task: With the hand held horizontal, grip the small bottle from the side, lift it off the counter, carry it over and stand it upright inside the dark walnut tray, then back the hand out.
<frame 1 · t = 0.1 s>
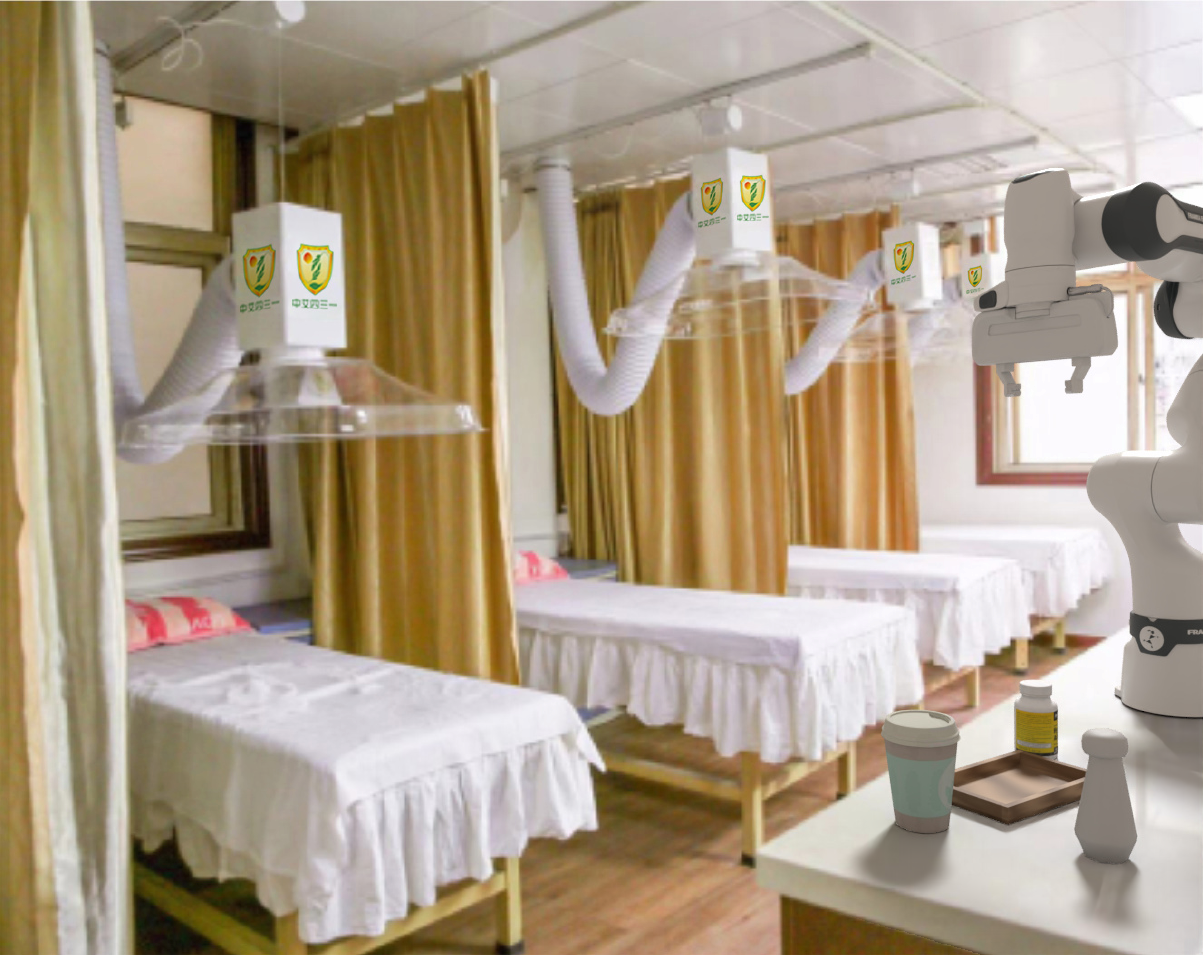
hand: (1042, 395, 142), 48 cm above the counter, tool pointing down, fingers open, 8 cm apart
supplement bottle: (1036, 757, 140), on the counter
tray: (1013, 792, 127), on the counter
salt shaker: (1105, 857, 108), on the counter
coffee cup: (922, 825, 118), on the counter
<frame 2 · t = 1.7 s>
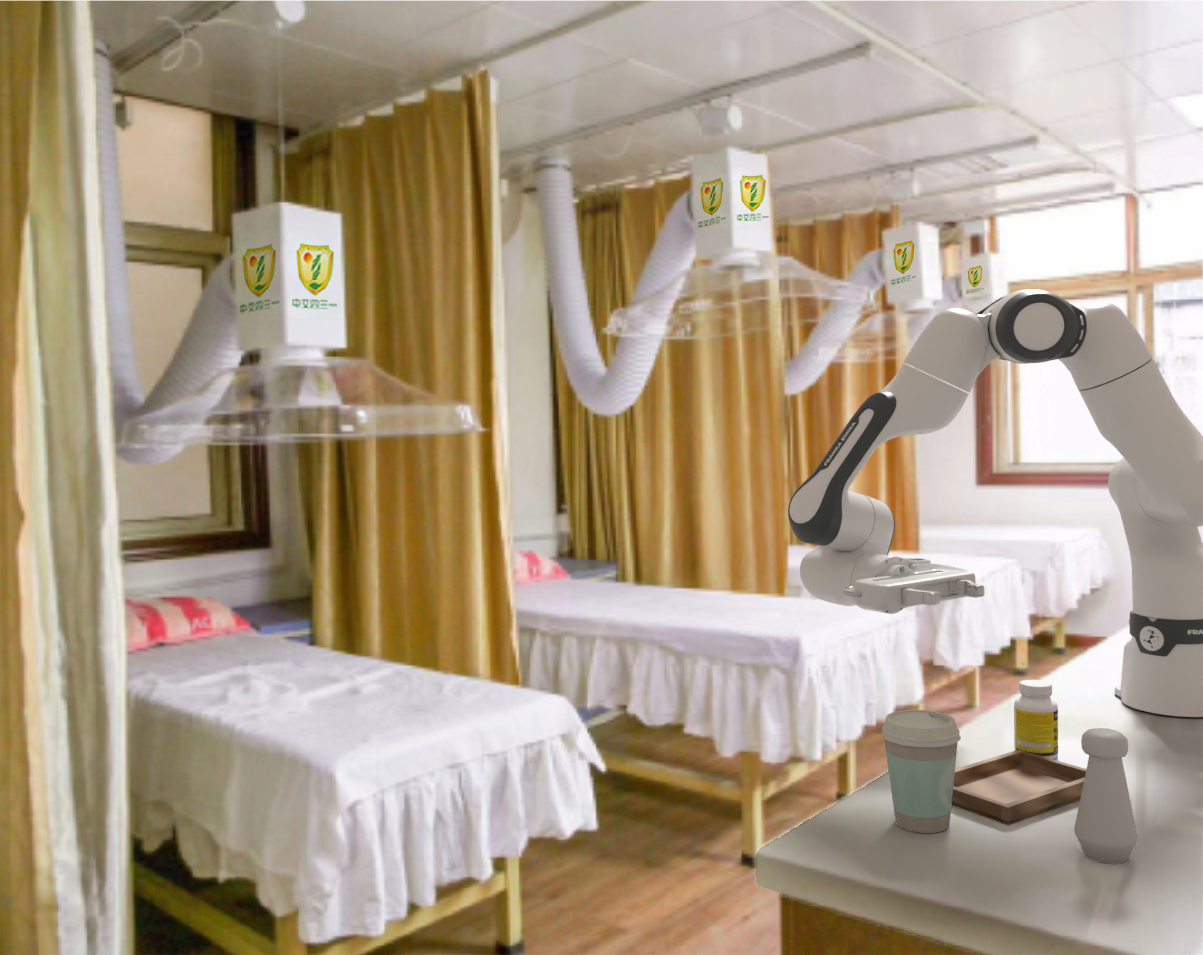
hand: (959, 595, 149), 20 cm above the counter, tool horizontal, fingers open, 8 cm apart
nothing on the counter moved.
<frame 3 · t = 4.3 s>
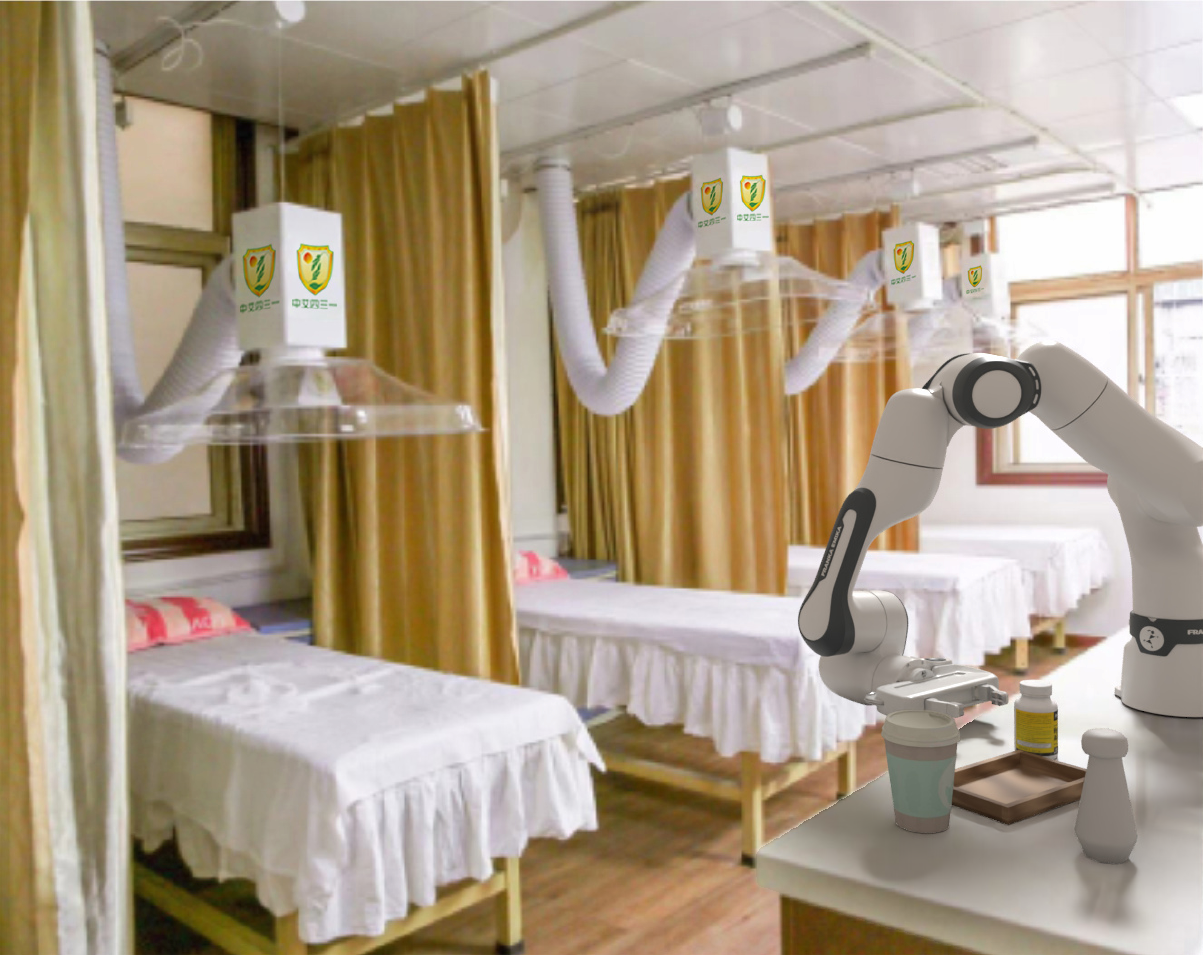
hand: (983, 705, 147), 5 cm above the counter, tool horizontal, fingers open, 8 cm apart
nothing on the counter moved.
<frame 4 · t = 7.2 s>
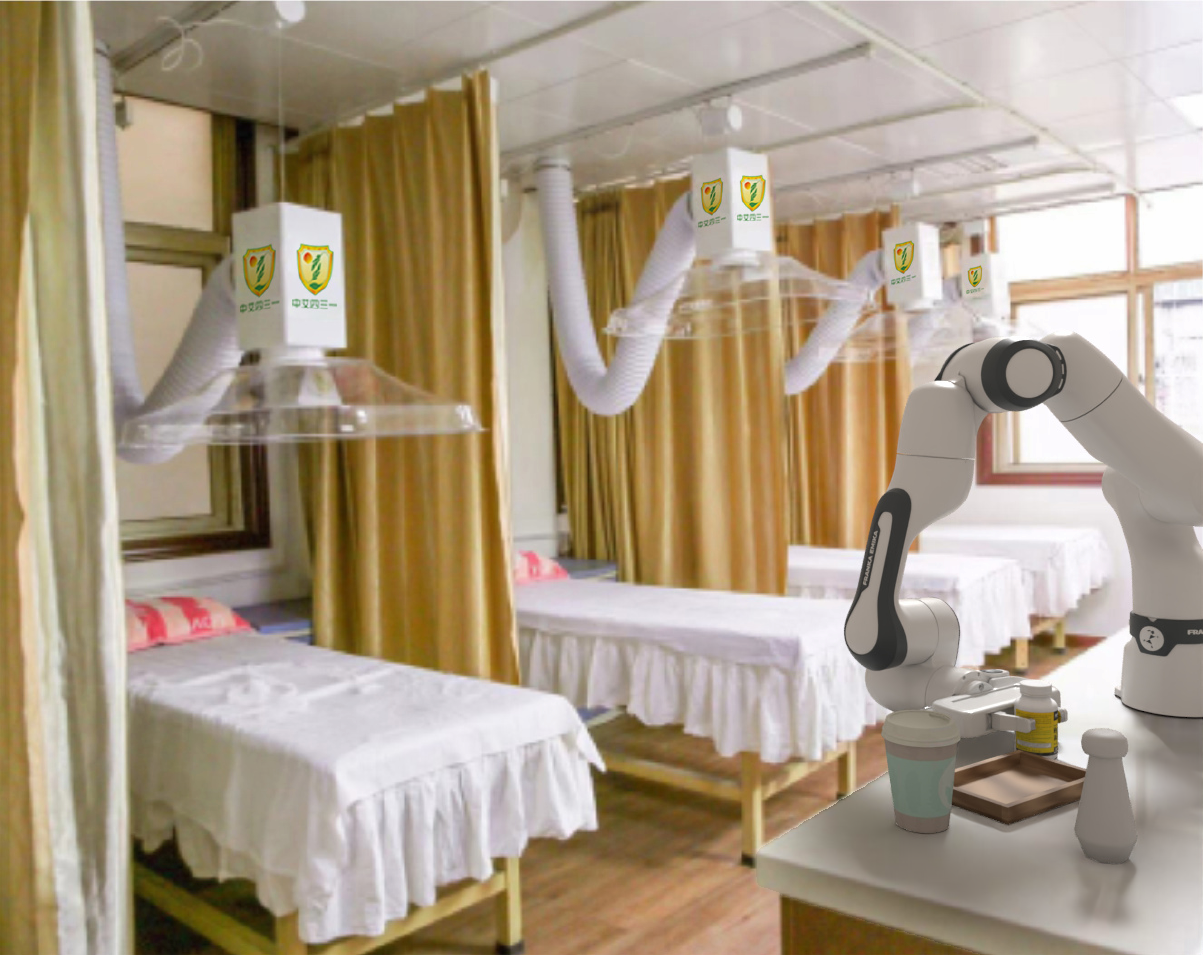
hand: (1048, 721, 138), 5 cm above the counter, tool horizontal, fingers closed on supplement bottle, 5 cm apart
supplement bottle: (1036, 756, 140), on the counter, touching gripper
everything else where it was.
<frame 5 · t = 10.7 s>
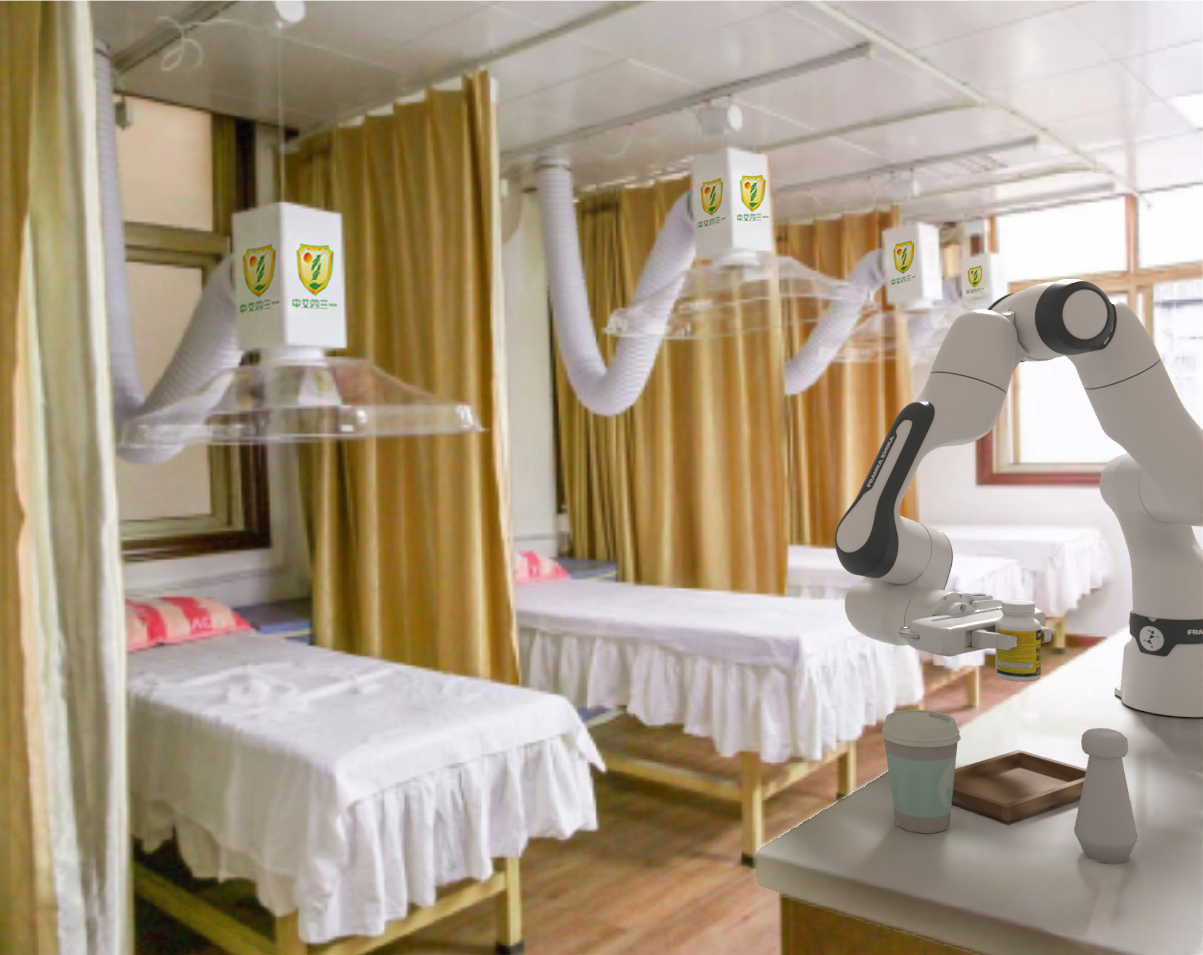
hand: (1030, 639, 132), 17 cm above the counter, tool horizontal, fingers closed on supplement bottle, 5 cm apart
supplement bottle: (1018, 679, 134), point 12 cm above the counter, touching gripper
everything else where it was.
when the fingers open (6 cm above the counter, at t = 14.3 s): supplement bottle stays where it is, resting on tray.
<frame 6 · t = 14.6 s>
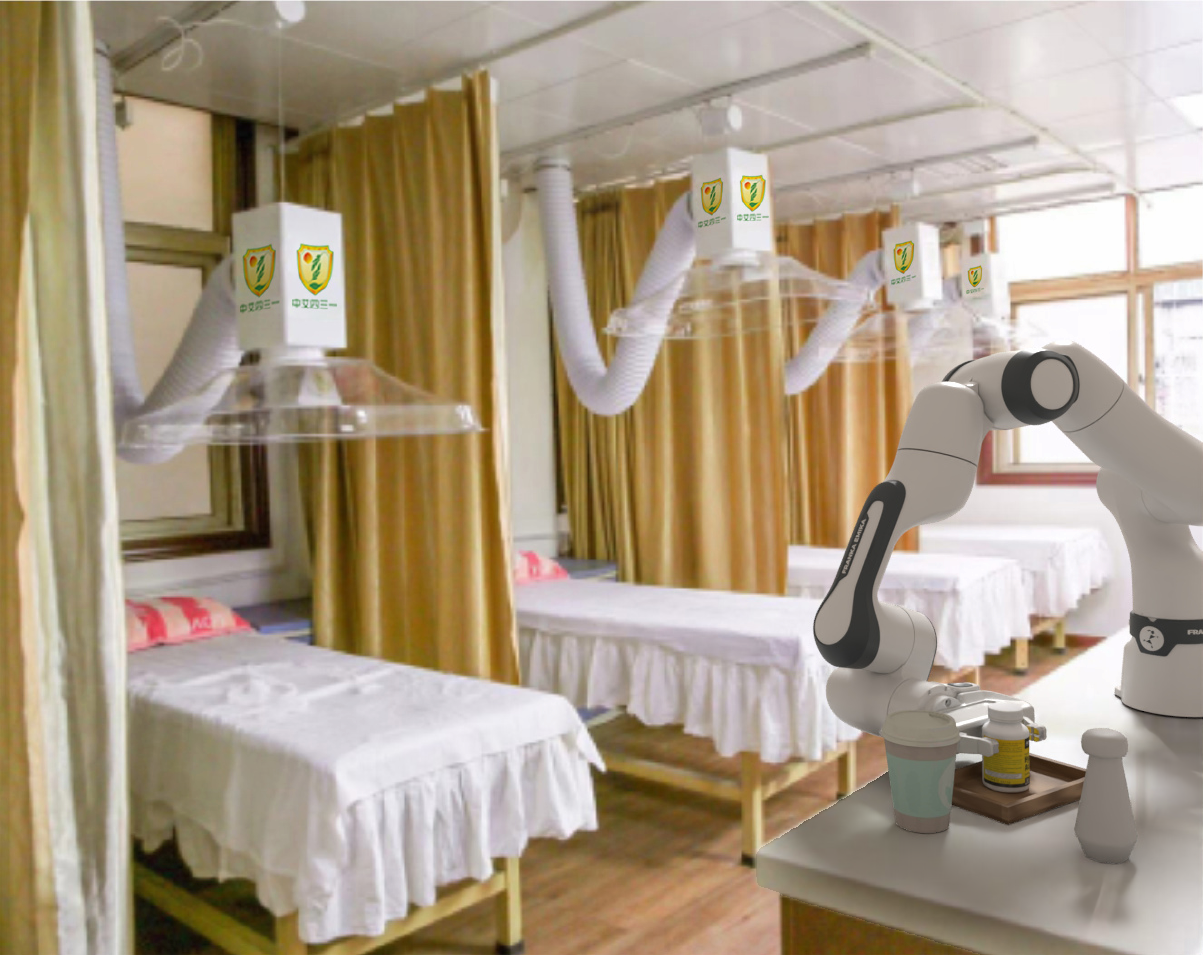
hand: (1019, 741, 126), 6 cm above the counter, tool horizontal, fingers open, 8 cm apart
supplement bottle: (1006, 788, 128), resting on tray
everything else where it was.
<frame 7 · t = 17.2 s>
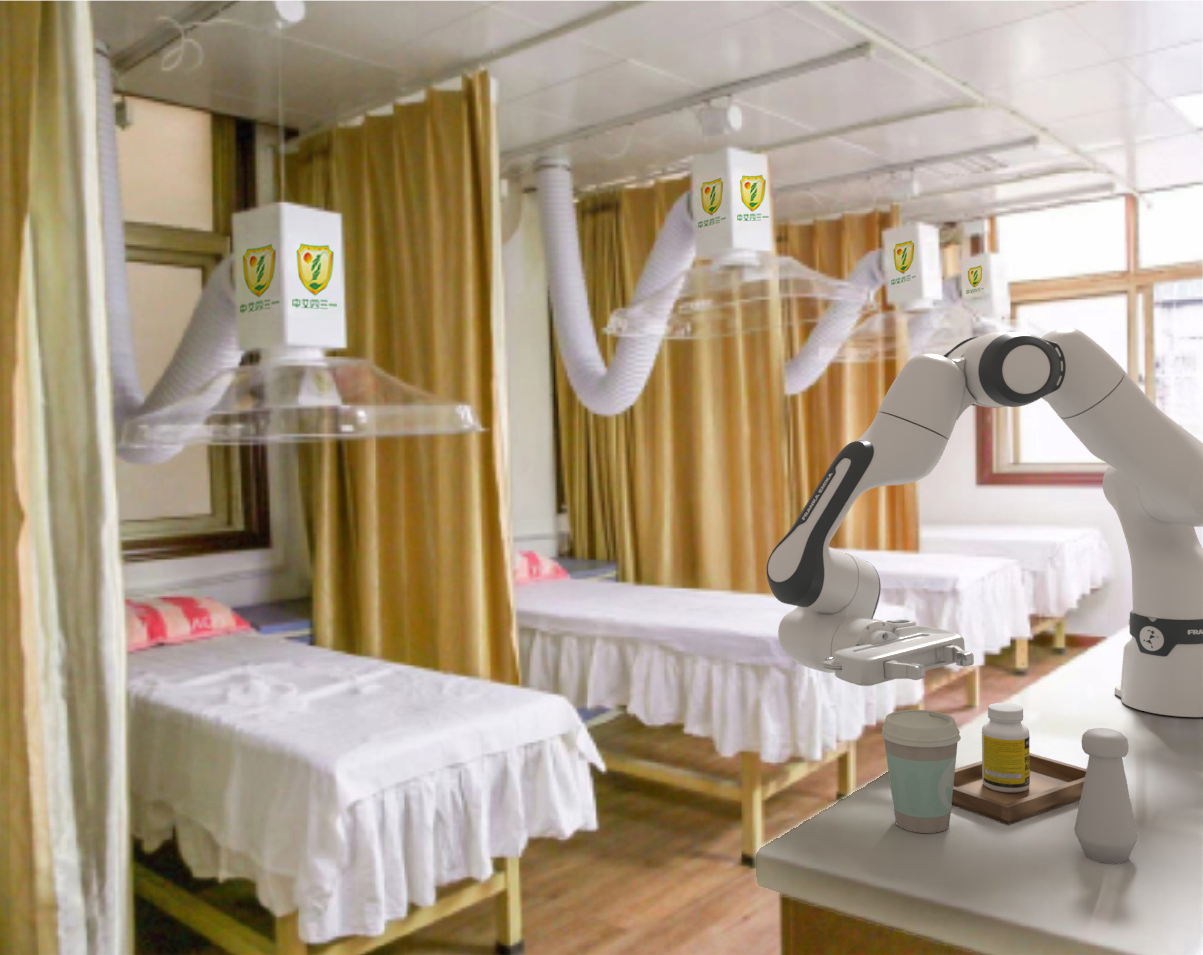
hand: (946, 666, 138), 13 cm above the counter, tool horizontal, fingers open, 8 cm apart
nothing on the counter moved.
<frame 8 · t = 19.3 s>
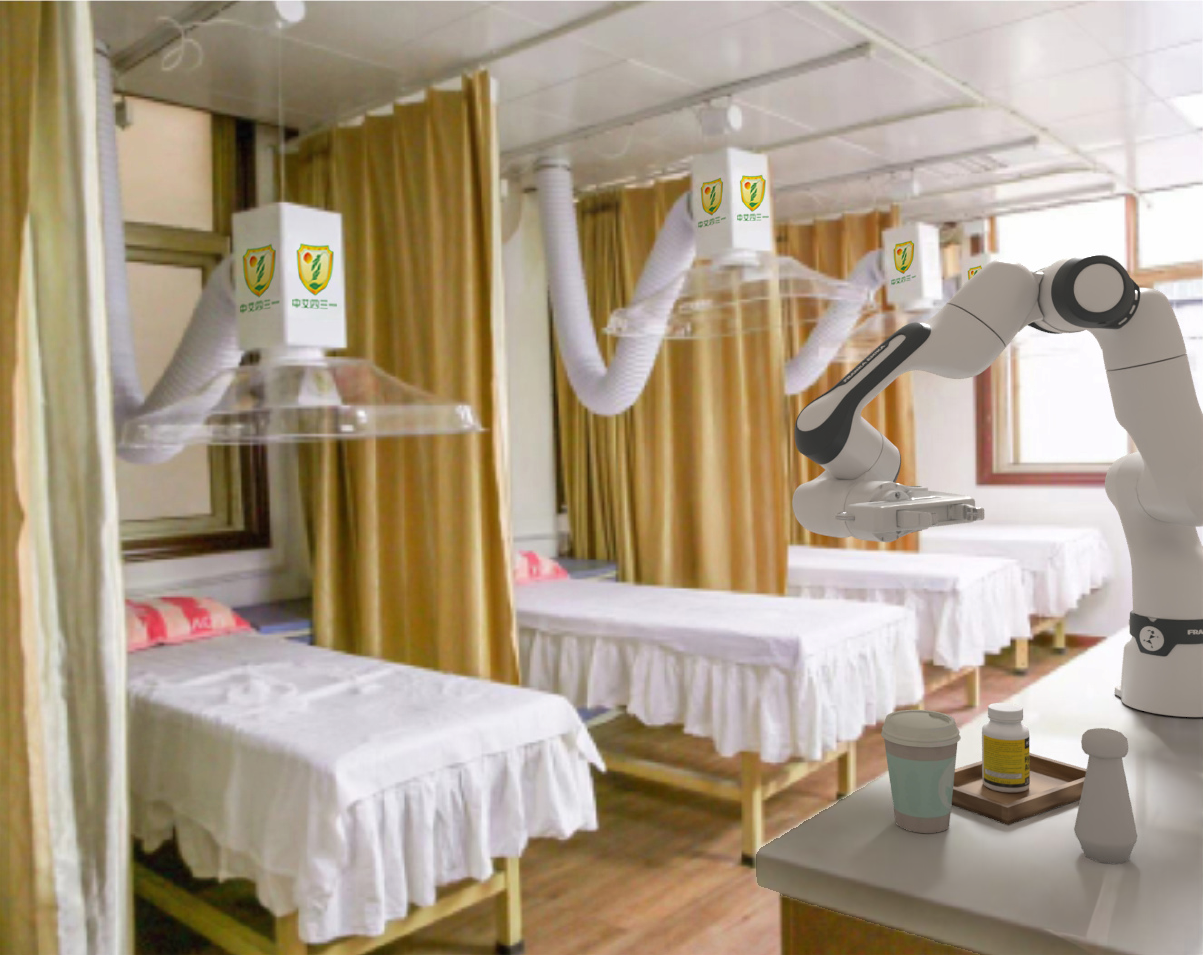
hand: (957, 516, 141), 32 cm above the counter, tool horizontal, fingers open, 8 cm apart
nothing on the counter moved.
at the end: supplement bottle inside the target area on the tray (1.0 cm from its centre), point 0.3 cm above the tray's base; supplement bottle tilted 0°; the gripper is holding nothing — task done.
